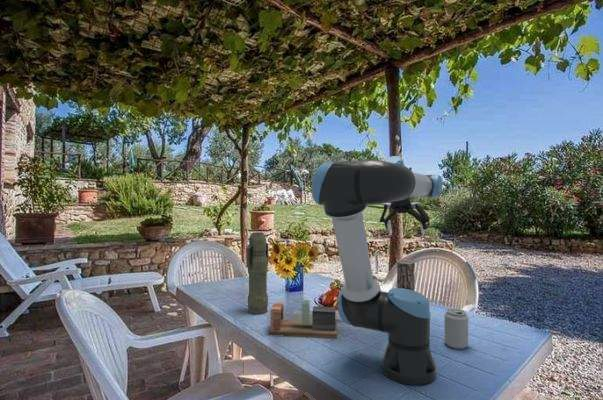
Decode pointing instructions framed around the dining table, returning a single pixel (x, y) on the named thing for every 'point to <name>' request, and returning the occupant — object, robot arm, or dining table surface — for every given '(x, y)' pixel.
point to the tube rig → (319, 327)
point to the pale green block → (303, 313)
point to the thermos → (257, 273)
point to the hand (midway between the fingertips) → (406, 234)
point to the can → (456, 328)
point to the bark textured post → (405, 274)
